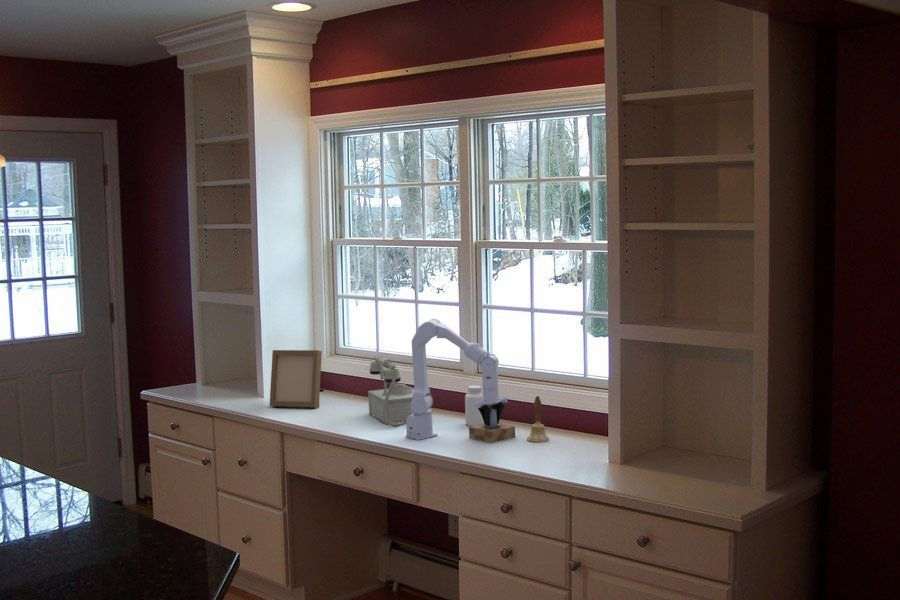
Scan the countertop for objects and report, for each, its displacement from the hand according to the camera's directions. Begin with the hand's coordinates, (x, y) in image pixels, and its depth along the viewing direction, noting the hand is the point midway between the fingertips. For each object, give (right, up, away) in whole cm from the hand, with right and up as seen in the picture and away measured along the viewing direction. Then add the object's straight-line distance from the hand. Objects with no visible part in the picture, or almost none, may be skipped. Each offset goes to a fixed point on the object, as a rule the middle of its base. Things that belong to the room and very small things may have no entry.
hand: (491, 424), depth 360 cm
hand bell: (+17, -5, -6) cm, 18 cm away
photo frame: (-82, -1, +74) cm, 111 cm away
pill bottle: (-5, -3, +23) cm, 24 cm away
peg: (0, -3, 0) cm, 3 cm away
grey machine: (-37, -3, +40) cm, 55 cm away
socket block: (0, -5, 0) cm, 5 cm away
